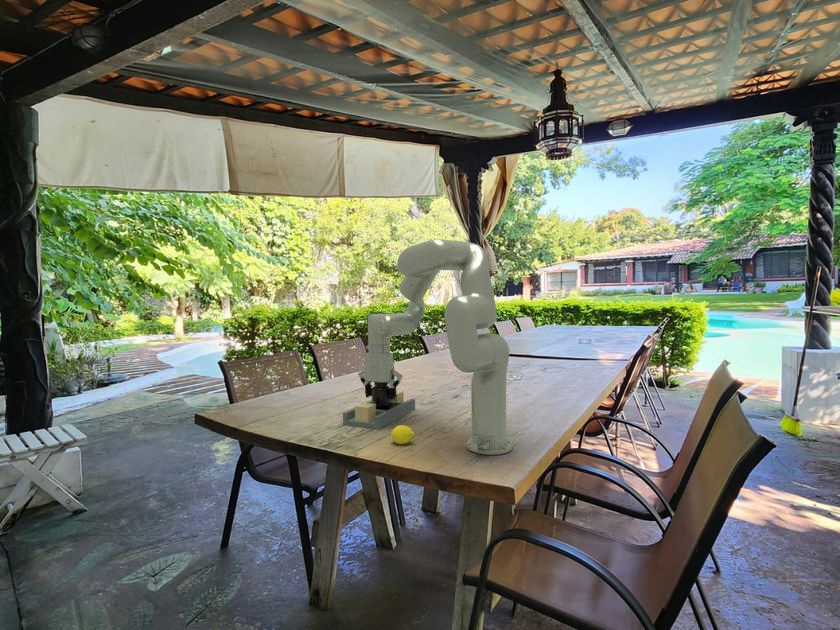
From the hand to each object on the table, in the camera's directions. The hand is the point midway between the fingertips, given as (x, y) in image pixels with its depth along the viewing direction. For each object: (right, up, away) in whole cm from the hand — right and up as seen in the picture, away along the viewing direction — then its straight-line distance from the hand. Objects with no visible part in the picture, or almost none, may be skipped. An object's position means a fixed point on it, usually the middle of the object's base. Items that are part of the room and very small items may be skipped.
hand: (380, 397), depth 156 cm
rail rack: (0, -7, 0) cm, 7 cm away
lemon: (+9, -8, -28) cm, 31 cm away
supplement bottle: (0, -6, 0) cm, 6 cm away
